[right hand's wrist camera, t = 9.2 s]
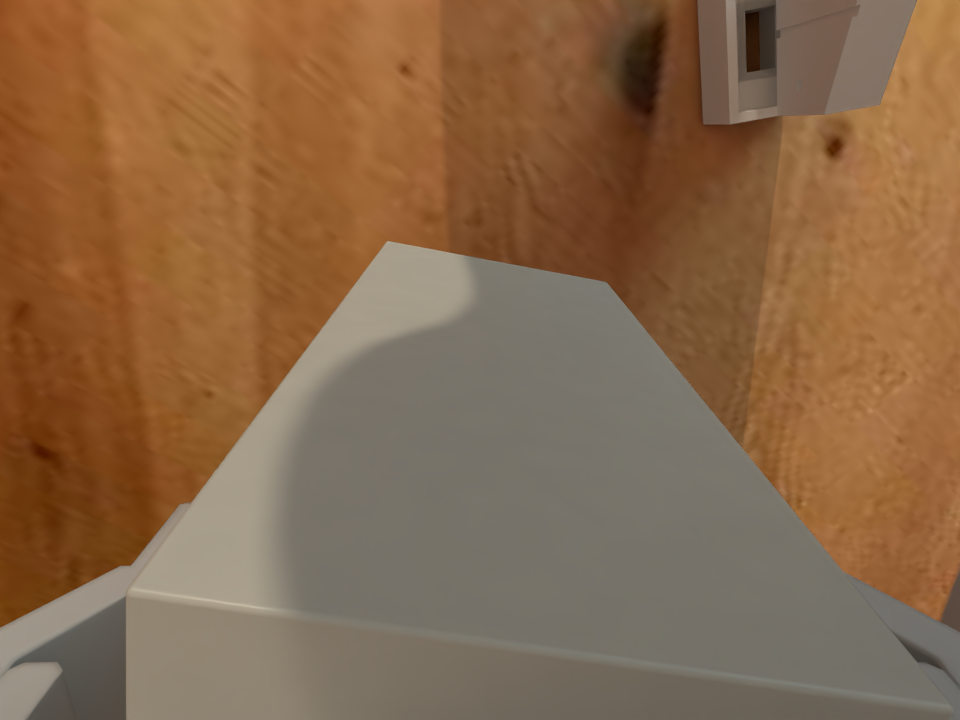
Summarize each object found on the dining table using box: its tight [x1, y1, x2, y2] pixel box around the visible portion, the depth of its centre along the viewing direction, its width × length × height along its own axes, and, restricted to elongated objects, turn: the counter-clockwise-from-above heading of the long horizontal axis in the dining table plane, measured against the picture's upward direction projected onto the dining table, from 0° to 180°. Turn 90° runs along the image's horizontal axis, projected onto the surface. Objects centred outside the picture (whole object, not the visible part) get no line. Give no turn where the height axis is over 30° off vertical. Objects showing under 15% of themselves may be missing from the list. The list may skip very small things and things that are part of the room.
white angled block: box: [697, 0, 917, 124], centre depth 23 cm, size 4×10×9 cm
